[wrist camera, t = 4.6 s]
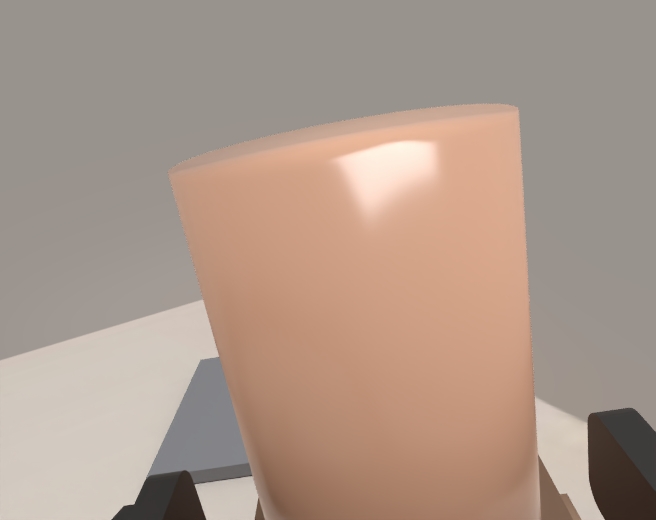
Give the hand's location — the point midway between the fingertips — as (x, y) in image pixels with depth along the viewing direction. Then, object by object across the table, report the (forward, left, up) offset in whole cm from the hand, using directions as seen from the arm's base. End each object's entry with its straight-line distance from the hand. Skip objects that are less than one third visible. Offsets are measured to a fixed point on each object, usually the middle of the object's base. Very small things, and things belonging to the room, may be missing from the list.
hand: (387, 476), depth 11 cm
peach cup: (-1, +3, -9) cm, 10 cm away
